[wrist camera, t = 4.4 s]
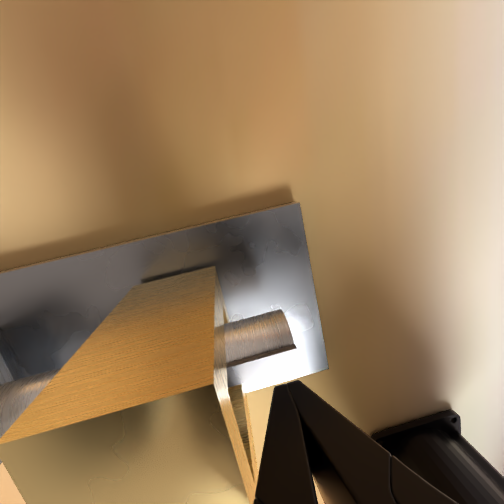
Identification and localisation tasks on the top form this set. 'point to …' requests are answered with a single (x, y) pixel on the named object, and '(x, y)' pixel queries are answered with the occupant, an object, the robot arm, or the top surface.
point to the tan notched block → (141, 409)
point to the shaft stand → (158, 267)
